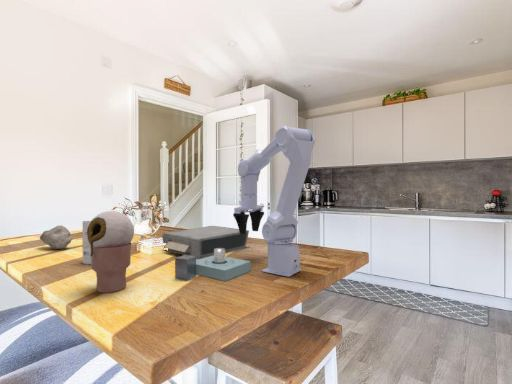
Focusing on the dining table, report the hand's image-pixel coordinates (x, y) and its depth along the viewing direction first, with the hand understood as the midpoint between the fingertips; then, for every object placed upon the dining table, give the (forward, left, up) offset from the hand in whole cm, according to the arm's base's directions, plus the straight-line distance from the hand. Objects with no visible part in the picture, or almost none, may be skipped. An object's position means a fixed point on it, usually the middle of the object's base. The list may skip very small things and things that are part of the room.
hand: (249, 232), depth 104 cm
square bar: (+3, +27, -10) cm, 29 cm away
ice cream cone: (+12, +44, -10) cm, 47 cm away
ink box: (+41, +33, -10) cm, 54 cm away
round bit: (-1, +17, -10) cm, 20 cm away
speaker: (+26, -3, -10) cm, 28 cm away
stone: (+79, +31, -10) cm, 85 cm away
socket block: (-1, +17, -10) cm, 20 cm away
